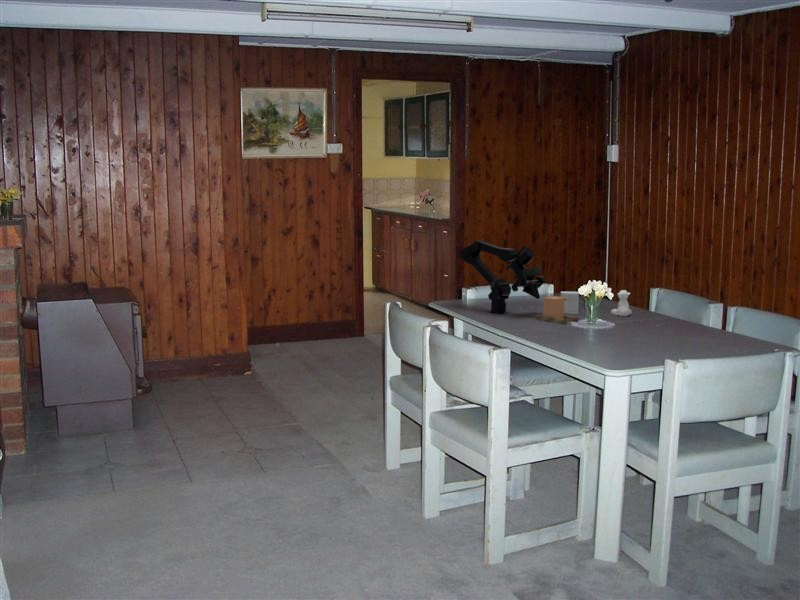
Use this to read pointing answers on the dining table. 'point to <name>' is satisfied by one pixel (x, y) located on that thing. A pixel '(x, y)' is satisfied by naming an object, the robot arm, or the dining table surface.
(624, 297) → the white creature statuette
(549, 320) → the chute
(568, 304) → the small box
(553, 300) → the block
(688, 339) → the dining table surface
